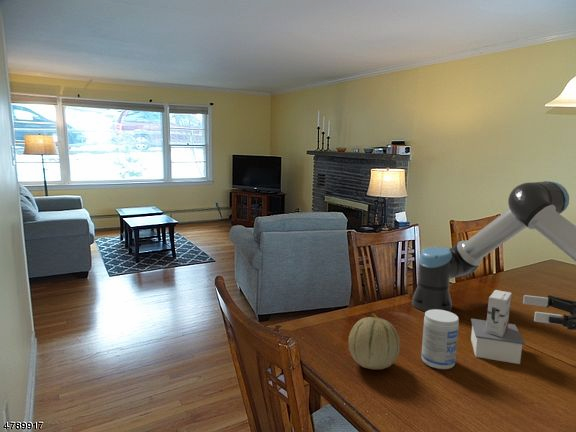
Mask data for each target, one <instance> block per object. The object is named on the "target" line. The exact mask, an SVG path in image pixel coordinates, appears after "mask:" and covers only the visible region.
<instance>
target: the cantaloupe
mask: <svg viewBox="0 0 576 432" xmlns="http://www.w3.org/2000/svg"><path fill="white" fill-rule="evenodd" d="M348 335H349V336H348V349H349V353H350V355H351V357H352V358H353V360H354V361H355V362H356V363H357V364H358V365H360V367H362V368H364V369H369V370H384V369H387V368H389V367H391V366H392V365H393V364H394V363H395V362H396V360H397V359H398V357H399V354H400V351H401V349H400V348H401V340H400V336H399V334H398V331H397V330H396V328H395V327H394V325H392V323H391V322H389V321H388V320H386V319H384V318H382V317H381V318H380V317H378V316H377V315H376V314H375V313H371V316H368V317H366V316H365V317H362V318H360V319H359V320H358V321H357V322H356V323H355V324H354V325H353V326H352V327H351V330H350V332H349V334H348Z"/></svg>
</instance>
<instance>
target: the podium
mask: <svg viewBox="0 0 576 432" xmlns="http://www.w3.org/2000/svg"><path fill="white" fill-rule="evenodd" d="M486 322H487V319H486V320H485V319H476V318H470V323H471V335H470V341H471V345H472V349H473V353H474V356H475V358H482V359H486V360H494V361H498V362H499V361H500V362H505V363H512V364H517V365H521V359H522V350H523V346H525V345H526V343H525V341H524V338H523V337H522V335H521V333H520V331H519V330H518V327H517V326H516V324H515V323H514V324H513V323H508V328H507V329H506V331H505V333H504V335H503V337H500V336H497V335H493V334H489V333H486V332H485V331H486Z"/></svg>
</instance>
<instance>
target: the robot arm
mask: <svg viewBox="0 0 576 432" xmlns="http://www.w3.org/2000/svg"><path fill="white" fill-rule="evenodd" d="M509 193H510V194H509V196H508V200H507V201H508V202H507V203H508V209H507V210H505V211H504V212H503V213H502V214H500V215H498V216H497V217H496V218H495V219H494V220H492V221H491V222H490V223H488V224H487V225H486V226H485V227H483V228H481V229H480V230H479V231H478V232H476V233H475V234H474V235H473V236H471V237H470V238H468V240H460V241H458V242H457V243H456V244H455V245H453V246H452V247H450V248H448V247H443V246H430V247H426V248H424V249H422V250H421V252H420V254H419V259H418V273H417V274H418V276H417V287H416V289H415V290H414V293H413V295H412V299H411V305H412V306H413V307H414V308H416V309H417V310H419V311H422V312H424V313H425V312H426V311H428V310H433V309H437V310H445V311H449V312H451V311H452V308H453V302H452V299H451V293H450V291H449V289H450V288H449V287H450V279H455V278H459V277H463V276H468V275H471V274H473V273H475V271H477V270H478V268H479V266H480V265H481V264H482V263H483V258H485V257H486V256H487V255H489V254H490V253H491V252H493V251H495V250H496V249H497V248H499V247H500V246H502V245H503V244H504V243H506V242H507V241H509V240H510V239H512V238H513V237H515V236H516V235H518V234H519V233H521V232H522V231H524V230H525V229H526V228H528V229H529V230H536V231H537V232H538V233H540V234H541V235H542V236H543V237H545V238H546V239H547V240H548V241H550V243H552V245H555V246H556V247H557V248H558V249H560V250H561V251H562V252H563V253H564V254H566V255H567V256H568V257H569V258H571V260H573V261H574V262H576V225H575V224H574V223H572V222H571V221H570V220H568V219H567V218H566V217H564V216H563V215H562V213H564V211H566V210H567V208H568V207H569V204H570V196H569V192H568V190H567V188H566V187H564V186H563V184H561V183H558V182H556V181H549V180H545V181H544V180H543V181H537V182H524V183H522V184H519V185H517V186H516V187H514V188H513V189H512V191H511V192H509ZM522 304H523V305H530V306H531V305H532V306H538V307H545V308H548V309H549V307H551V308H554V309H558V310H561V311H564V312H567V313H569V315H567V314H564V313H563V314H559V313H558V314H556V313H549V312H543V311H542V312H541V311H534V319H533V321H534V322H536V323H542V324H543V323H544V324H550V325H551V324H552V325H556V326H557V325H559V326H563V327H565V328H566V327H567V328H566V329H567V330H570V331H576V301H575V300H572V299H566V298H563V297H559V296H554V295H550V294H549V295H548V296H547V297H545V296H536V295H535V296H534V295H529V294H528V295H527V294H524V295H523V301H522Z"/></svg>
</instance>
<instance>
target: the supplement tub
mask: <svg viewBox="0 0 576 432" xmlns="http://www.w3.org/2000/svg"><path fill="white" fill-rule="evenodd" d="M459 325H460V323H459V316H458V315H457V314H456V313H453V312H451V311H445V310H437V309H433V310H428V311H426V312H425V311H424V318H423V326H422V327H423V328H422V329H423V330H422V342H421V343H422V344H421V353H420V355H421V360H422V361H423V363H425V365H427V366H428V367H431V368H434V369H436V370H449V369H452V368H453V367H454V366H455V365H456V361H457V360H456V357H457V348H458V347H457V346H458V336H459V335H458V334H459Z"/></svg>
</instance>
